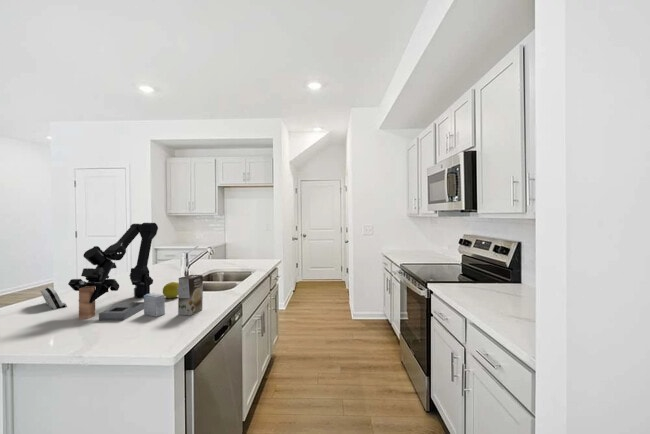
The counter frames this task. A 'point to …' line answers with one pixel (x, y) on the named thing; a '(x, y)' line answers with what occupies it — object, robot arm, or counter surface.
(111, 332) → the counter surface
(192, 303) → the coffee box
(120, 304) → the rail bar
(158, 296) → the medicine box
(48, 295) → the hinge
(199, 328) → the counter surface
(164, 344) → the counter surface
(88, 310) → the square peg
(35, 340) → the counter surface
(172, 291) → the lemon
